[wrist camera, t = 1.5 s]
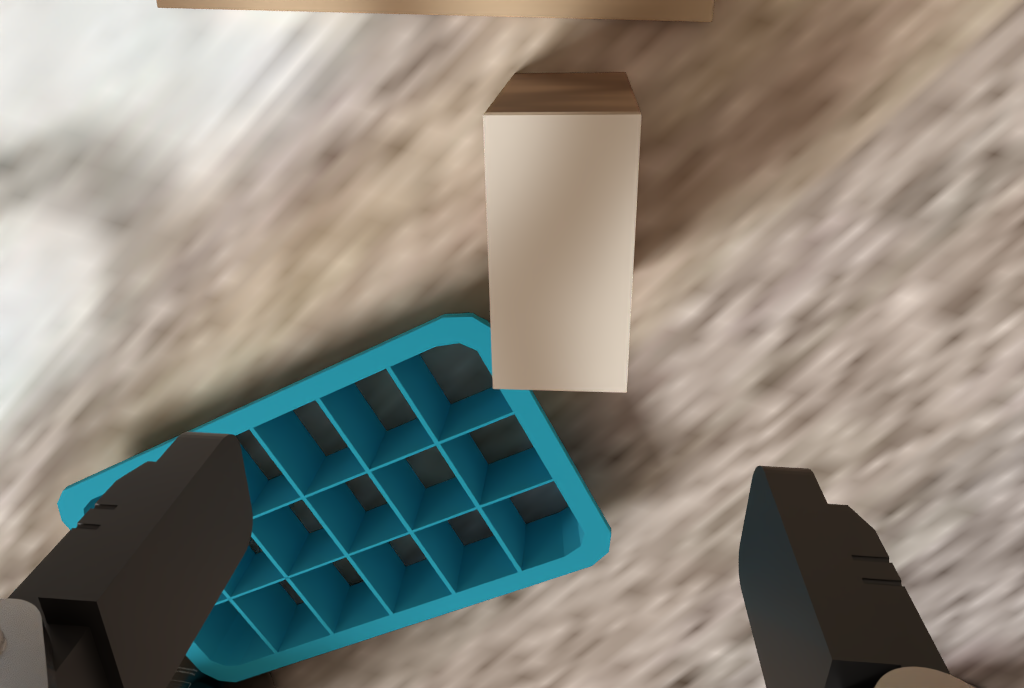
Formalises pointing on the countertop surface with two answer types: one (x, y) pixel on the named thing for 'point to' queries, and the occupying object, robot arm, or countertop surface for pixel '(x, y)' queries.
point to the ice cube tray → (378, 509)
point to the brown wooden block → (561, 229)
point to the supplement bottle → (213, 679)
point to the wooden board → (480, 7)
